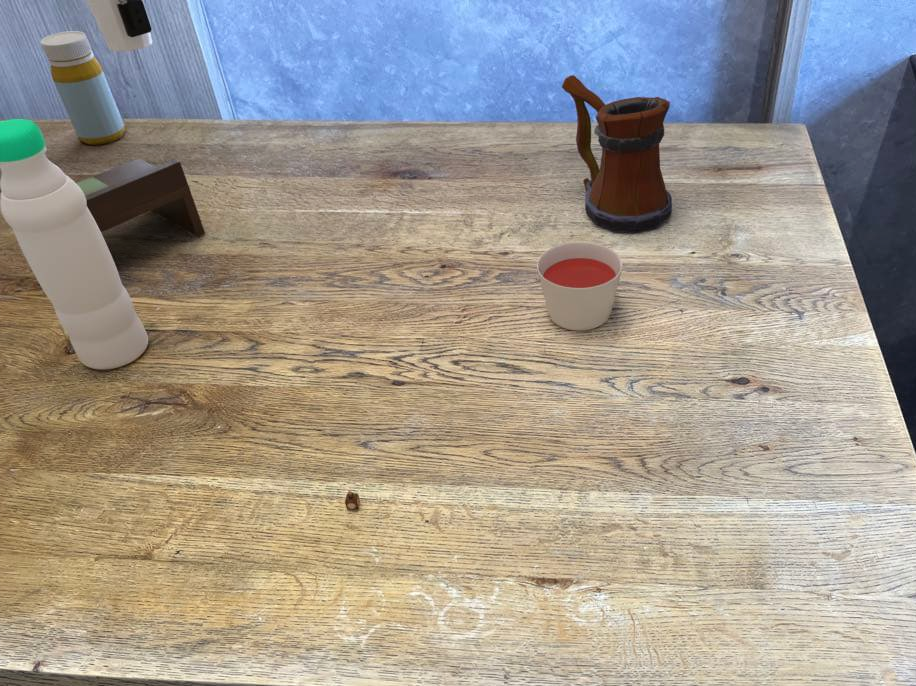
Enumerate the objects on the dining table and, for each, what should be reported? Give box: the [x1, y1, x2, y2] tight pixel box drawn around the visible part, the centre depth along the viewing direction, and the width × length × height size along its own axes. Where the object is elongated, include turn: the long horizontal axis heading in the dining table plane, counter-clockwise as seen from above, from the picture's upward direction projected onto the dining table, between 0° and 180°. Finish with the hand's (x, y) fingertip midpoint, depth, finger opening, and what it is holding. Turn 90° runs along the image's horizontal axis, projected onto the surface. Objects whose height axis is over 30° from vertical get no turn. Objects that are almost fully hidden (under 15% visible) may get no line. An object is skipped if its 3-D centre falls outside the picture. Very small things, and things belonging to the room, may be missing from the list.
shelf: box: [75, 158, 206, 238], centre depth 101 cm, size 12×16×10 cm
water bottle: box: [0, 118, 149, 371], centre depth 79 cm, size 7×7×25 cm
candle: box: [536, 241, 623, 331], centre depth 88 cm, size 9×9×6 cm
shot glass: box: [85, 0, 153, 53], centre depth 107 cm, size 7×7×7 cm
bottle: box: [40, 30, 126, 146], centre depth 124 cm, size 7×7×15 cm
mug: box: [561, 74, 673, 233], centre depth 103 cm, size 18×12×15 cm, turn 38°
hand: (124, 27), depth 108 cm, fingers closed on shot glass, 6 cm apart
